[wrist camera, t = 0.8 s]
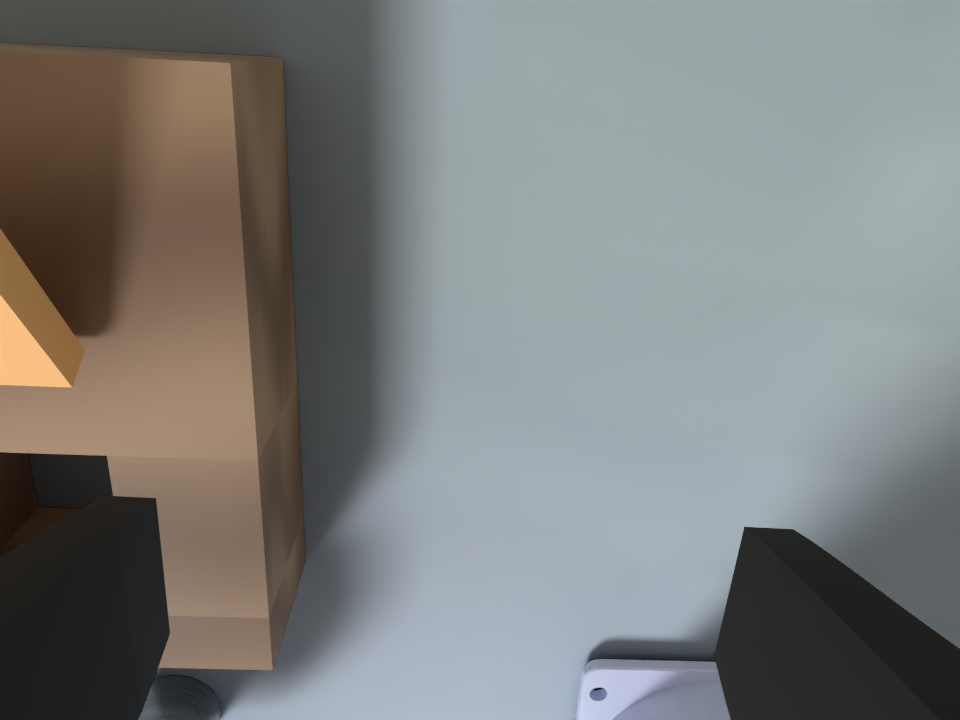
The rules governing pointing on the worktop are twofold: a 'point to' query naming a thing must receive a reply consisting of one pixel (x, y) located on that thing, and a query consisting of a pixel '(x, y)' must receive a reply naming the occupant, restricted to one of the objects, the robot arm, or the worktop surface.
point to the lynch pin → (180, 700)
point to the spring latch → (32, 330)
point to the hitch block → (164, 319)
